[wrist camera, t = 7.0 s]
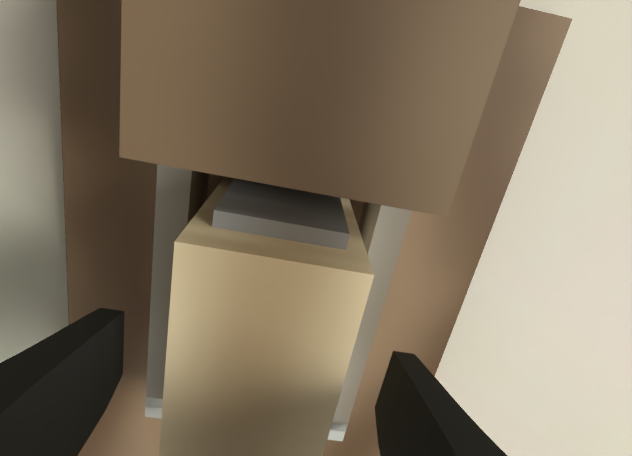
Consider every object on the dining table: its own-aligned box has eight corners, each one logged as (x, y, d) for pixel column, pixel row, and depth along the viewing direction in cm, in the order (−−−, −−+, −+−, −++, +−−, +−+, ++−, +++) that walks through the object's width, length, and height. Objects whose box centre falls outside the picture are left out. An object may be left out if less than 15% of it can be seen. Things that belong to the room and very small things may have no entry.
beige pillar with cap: (212, 343, 17) (154, 512, 11) (236, 152, 14) (175, 222, 8) (303, 357, 17) (302, 527, 11) (346, 173, 14) (379, 257, 8)
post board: (86, 508, 22) (-5, 690, 16) (72, -92, 12) (-200, -279, 6) (362, 537, 24) (384, 714, 17) (554, 22, 14) (780, -23, 7)
